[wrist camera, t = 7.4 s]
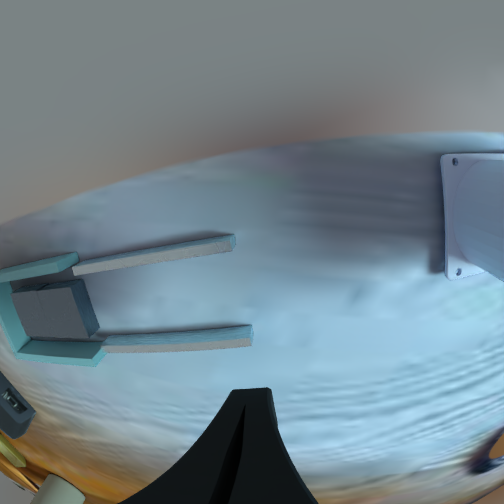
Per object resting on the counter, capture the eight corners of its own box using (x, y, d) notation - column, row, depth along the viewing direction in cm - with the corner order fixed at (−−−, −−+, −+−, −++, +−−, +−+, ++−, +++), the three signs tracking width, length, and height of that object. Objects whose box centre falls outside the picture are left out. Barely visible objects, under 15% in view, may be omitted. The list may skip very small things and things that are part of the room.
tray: (76, 252, 19) (56, 262, 16) (110, 349, 20) (95, 366, 18) (1, 269, 20) (-16, 277, 17) (30, 346, 22) (16, 358, 19)
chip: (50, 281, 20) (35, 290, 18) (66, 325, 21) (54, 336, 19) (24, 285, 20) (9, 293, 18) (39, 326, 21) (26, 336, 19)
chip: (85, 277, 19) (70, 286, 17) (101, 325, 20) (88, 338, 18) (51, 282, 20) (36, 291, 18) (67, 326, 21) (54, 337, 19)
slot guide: (233, 234, 17) (229, 240, 16) (253, 332, 19) (251, 346, 17) (84, 260, 19) (71, 267, 17) (112, 341, 20) (102, 352, 19)
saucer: (-9, 431, 32) (-14, 437, 30) (-1, 427, 30) (-7, 433, 28) (20, 461, 34) (16, 467, 32) (31, 460, 32) (26, 467, 30)
